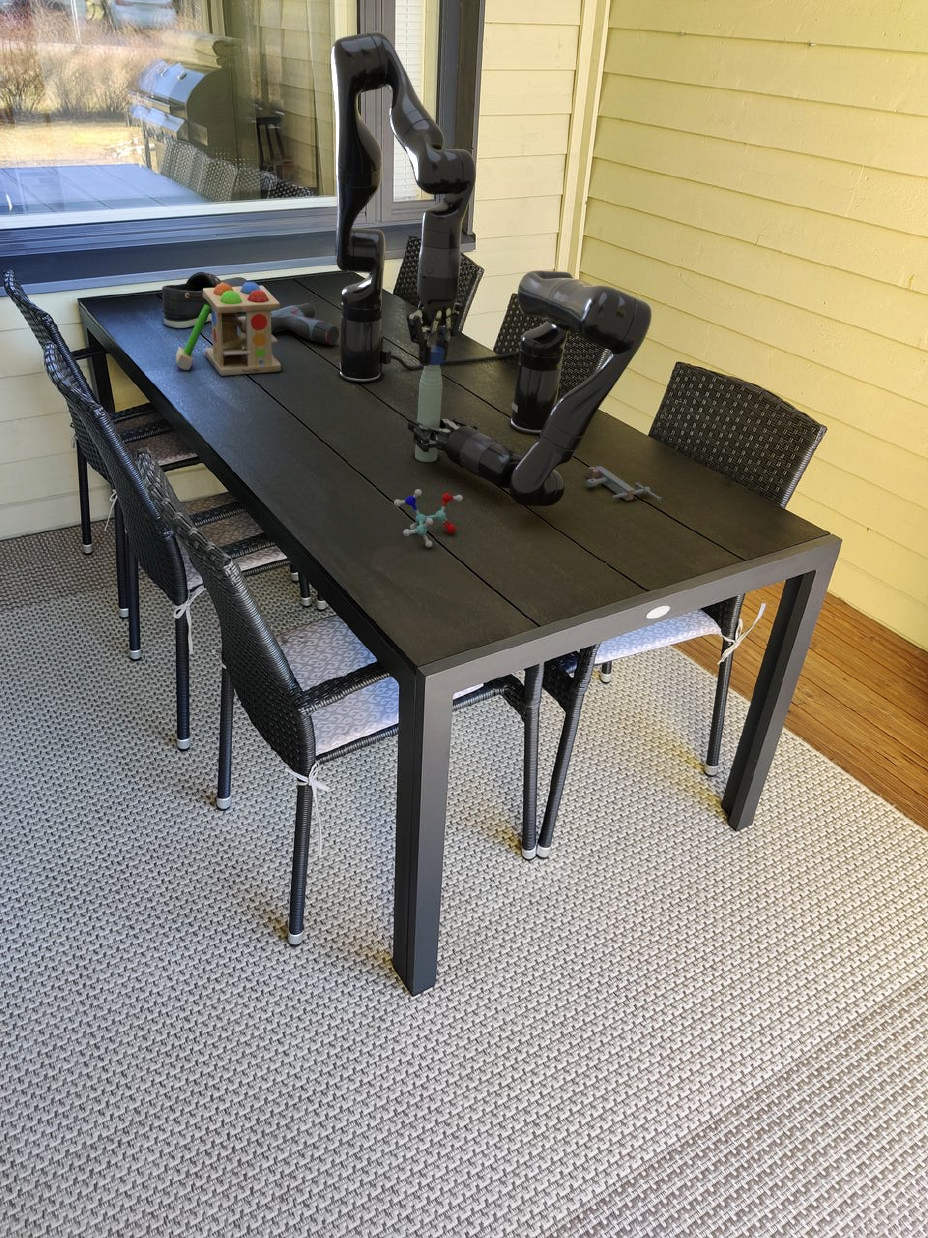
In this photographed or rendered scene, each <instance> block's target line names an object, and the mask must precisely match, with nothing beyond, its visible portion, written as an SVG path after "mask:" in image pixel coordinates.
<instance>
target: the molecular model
mask: <svg viewBox="0 0 928 1238" xmlns="http://www.w3.org/2000/svg"><path fill="white" fill-rule="evenodd" d="M422 494H423V491H422V490H421V489H419V488H417V489H415V490H414V494H413V495H409V496H407V497H406V499H402V500H401V499H397V498H396V499H395V500H394V501H393V504H394V506H395V507H401V505H405V504H407V505H408V506H411V507H412V509H413V511H414V513H415V515H416V516H415V522H414V523H411V524H410V525H409V529H408V528H406V529H404V530H403V532H402V533H403V536H405V537H410V535H413V534H417V535H418V536H421V537H423V540H424V541H425V543H424V545H425V547H426V548H432V546H433V542H432V540H430V539H429V538H428V535H427V533H428V527H429V526H432V525H433V524H434V519H436V521H439V522H440V523H442V525H443V527H445V530H446V532H447V533H448V534H454V533H455V532H456V526H455V525H454V524H452V523H450V521H449V520H448V518H447V515H446V512H445V510H446V507H447V504H448V503H450V502H451V501H456V502H459V503H460V502H462V501H463V499H464V498H463V495H461V494H457V495H451V494H450V493H448V492H446V493H444V494H442V496H441V500H442V501H443V502H442V504H441V508H440V510H438V511H436V512H435V514H433V515H432V514H431V515H425V514H423V513H421V512H420V511H419V509H418V507H417V505H416V503H417V498H418V497H420V496H422Z"/></svg>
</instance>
